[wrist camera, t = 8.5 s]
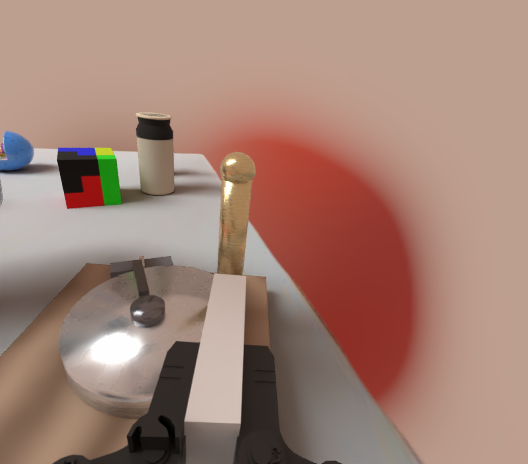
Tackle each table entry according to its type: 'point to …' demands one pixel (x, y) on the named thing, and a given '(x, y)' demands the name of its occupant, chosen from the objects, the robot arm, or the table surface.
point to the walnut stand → (59, 389)
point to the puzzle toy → (89, 177)
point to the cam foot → (150, 312)
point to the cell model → (15, 152)
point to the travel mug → (155, 153)
